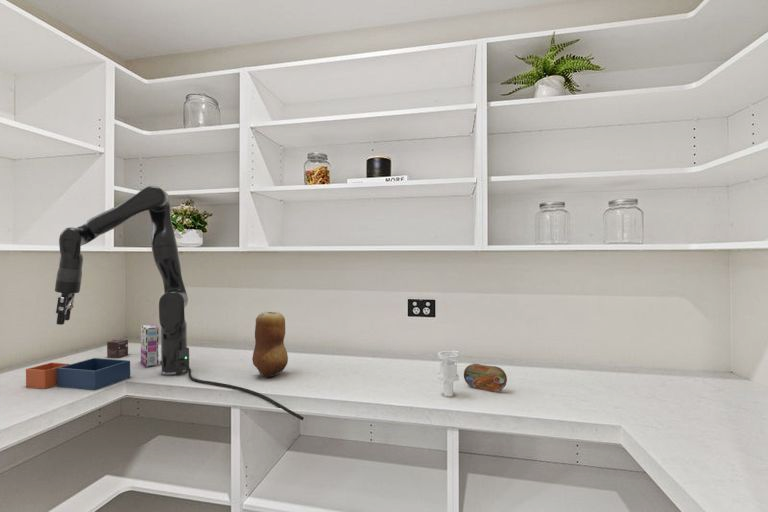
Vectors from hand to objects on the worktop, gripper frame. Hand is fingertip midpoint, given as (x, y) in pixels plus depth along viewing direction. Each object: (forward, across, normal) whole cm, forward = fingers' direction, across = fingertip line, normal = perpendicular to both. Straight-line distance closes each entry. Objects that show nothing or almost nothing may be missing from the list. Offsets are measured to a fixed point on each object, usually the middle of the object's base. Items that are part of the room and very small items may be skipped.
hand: (63, 322), depth 152 cm
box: (+22, +32, -17) cm, 42 cm away
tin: (+2, -83, -136) cm, 159 cm away
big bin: (+20, -8, -13) cm, 26 cm away
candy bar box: (+19, +10, -30) cm, 37 cm away
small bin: (+22, -3, +1) cm, 23 cm away
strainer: (+4, -82, -121) cm, 146 cm away
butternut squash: (+12, -32, -73) cm, 80 cm away
